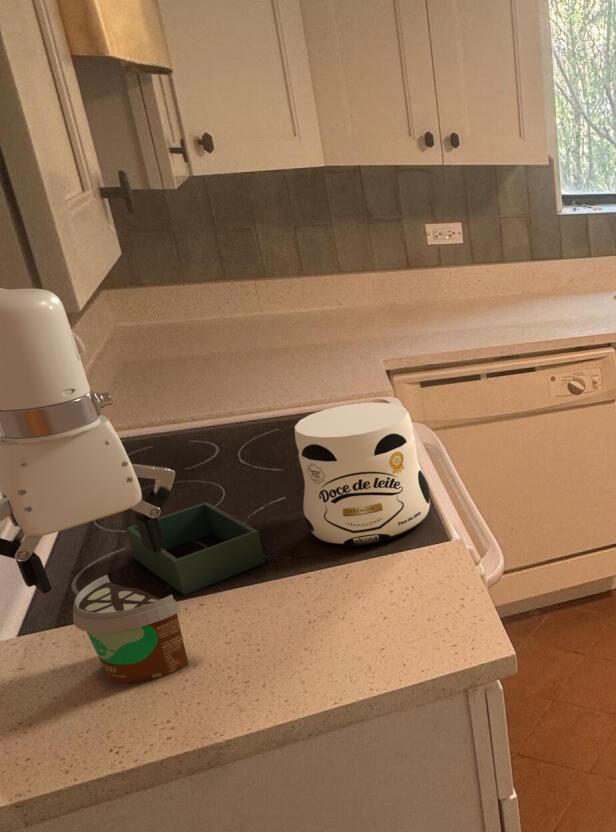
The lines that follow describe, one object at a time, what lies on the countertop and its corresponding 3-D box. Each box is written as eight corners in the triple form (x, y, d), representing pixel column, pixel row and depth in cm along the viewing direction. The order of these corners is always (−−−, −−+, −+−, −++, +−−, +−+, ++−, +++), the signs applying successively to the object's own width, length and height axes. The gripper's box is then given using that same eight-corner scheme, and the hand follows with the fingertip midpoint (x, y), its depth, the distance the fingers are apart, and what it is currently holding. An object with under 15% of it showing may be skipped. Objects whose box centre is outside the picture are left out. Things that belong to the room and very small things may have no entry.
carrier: (136, 562, 111) (125, 528, 109) (215, 534, 119) (206, 501, 117) (185, 598, 102) (174, 561, 100) (266, 565, 110) (258, 530, 108)
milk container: (355, 568, 109) (330, 449, 103) (286, 537, 118) (260, 425, 112) (457, 519, 123) (441, 412, 117) (389, 495, 132) (371, 393, 126)
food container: (69, 678, 87) (41, 601, 84) (128, 647, 93) (103, 573, 89) (141, 706, 83) (114, 626, 79) (198, 671, 88) (175, 595, 85)
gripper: (136, 388, 86) (178, 527, 92) (-83, 435, 73) (-18, 594, 78) (164, 399, 82) (206, 544, 88) (-63, 452, 68) (5, 618, 74)
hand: (100, 567), depth 83 cm, fingers open, 9 cm apart
